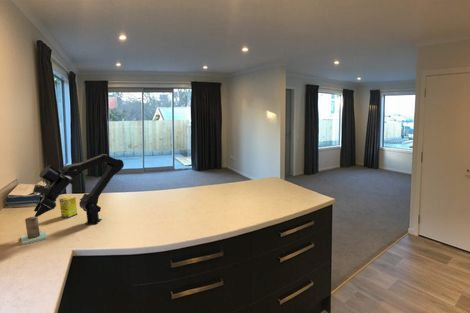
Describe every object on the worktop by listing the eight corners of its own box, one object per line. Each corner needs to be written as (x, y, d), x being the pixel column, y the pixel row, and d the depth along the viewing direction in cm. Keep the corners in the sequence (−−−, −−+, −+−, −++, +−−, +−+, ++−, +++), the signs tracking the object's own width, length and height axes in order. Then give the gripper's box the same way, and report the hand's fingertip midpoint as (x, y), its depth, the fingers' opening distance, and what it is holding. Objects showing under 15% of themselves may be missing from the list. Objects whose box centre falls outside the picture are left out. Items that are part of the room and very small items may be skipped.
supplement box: (61, 217, 177) (58, 198, 175) (70, 213, 182) (67, 195, 181) (69, 218, 175) (66, 199, 173) (77, 214, 180) (75, 196, 178)
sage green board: (21, 237, 150) (20, 235, 150) (45, 232, 156) (44, 230, 156) (22, 244, 142) (21, 242, 142) (47, 238, 148) (46, 236, 148)
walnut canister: (32, 234, 151) (29, 216, 150) (42, 234, 151) (39, 216, 150) (25, 238, 147) (22, 220, 145) (35, 238, 146) (33, 220, 145)
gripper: (41, 174, 156) (18, 200, 152) (44, 181, 140) (18, 210, 136) (61, 186, 161) (40, 211, 157) (65, 195, 146) (42, 222, 142)
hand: (35, 213), depth 148 cm, fingers open, 9 cm apart
